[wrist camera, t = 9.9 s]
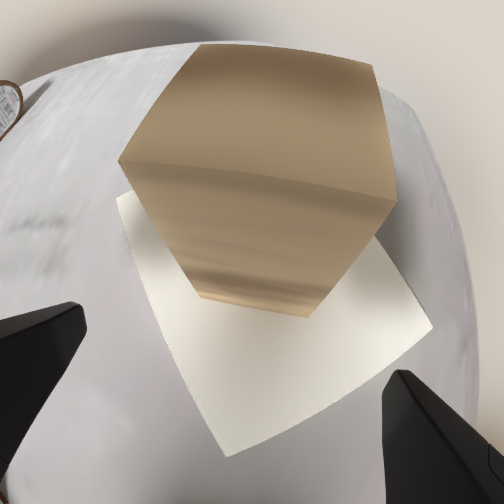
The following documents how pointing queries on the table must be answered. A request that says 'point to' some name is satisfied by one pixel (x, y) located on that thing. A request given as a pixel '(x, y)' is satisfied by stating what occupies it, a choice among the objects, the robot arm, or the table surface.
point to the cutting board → (273, 339)
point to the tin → (9, 106)
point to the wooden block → (265, 172)
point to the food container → (2, 499)
